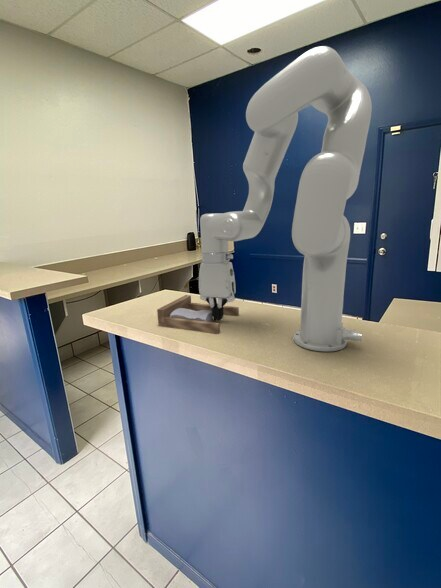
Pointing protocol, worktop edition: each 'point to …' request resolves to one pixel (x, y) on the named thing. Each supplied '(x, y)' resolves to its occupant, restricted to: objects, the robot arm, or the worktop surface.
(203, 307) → the brown u-shaped frame
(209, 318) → the stone block
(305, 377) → the worktop surface
